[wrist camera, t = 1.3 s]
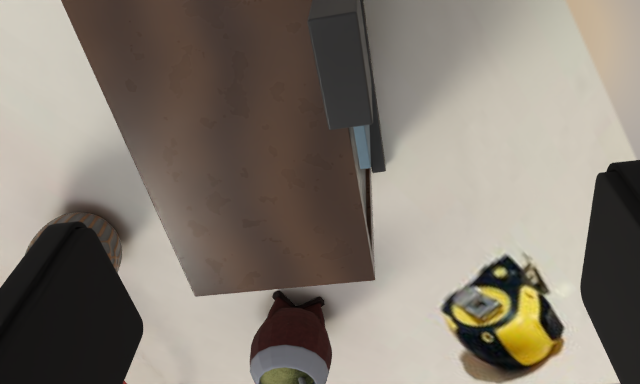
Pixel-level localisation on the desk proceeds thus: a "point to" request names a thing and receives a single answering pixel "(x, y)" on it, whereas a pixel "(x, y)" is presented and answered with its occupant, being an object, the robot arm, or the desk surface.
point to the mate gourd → (291, 344)
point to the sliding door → (343, 69)
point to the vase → (100, 227)
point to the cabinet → (235, 139)
